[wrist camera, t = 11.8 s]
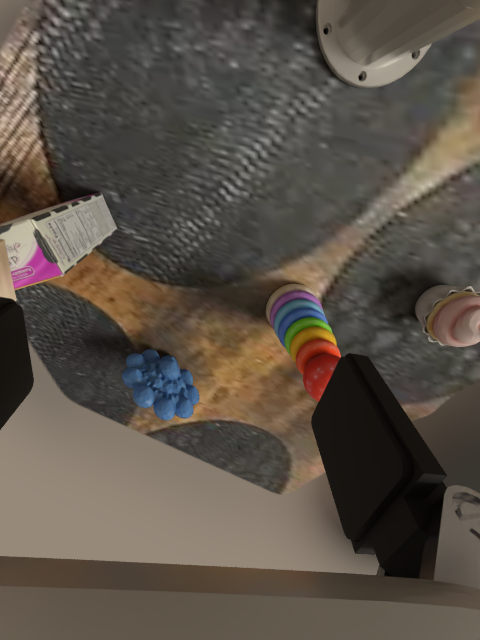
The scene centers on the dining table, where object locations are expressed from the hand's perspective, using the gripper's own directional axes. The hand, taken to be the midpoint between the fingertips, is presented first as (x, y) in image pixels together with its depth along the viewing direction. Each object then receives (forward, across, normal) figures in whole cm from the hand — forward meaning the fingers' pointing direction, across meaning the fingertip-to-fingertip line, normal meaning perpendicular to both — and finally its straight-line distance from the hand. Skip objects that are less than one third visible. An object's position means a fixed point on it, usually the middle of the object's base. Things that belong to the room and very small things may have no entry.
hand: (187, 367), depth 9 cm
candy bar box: (+32, +17, +7) cm, 37 cm away
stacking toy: (+32, -14, +13) cm, 37 cm away
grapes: (+32, +3, +24) cm, 40 cm away
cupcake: (+33, -36, +8) cm, 49 cm away
